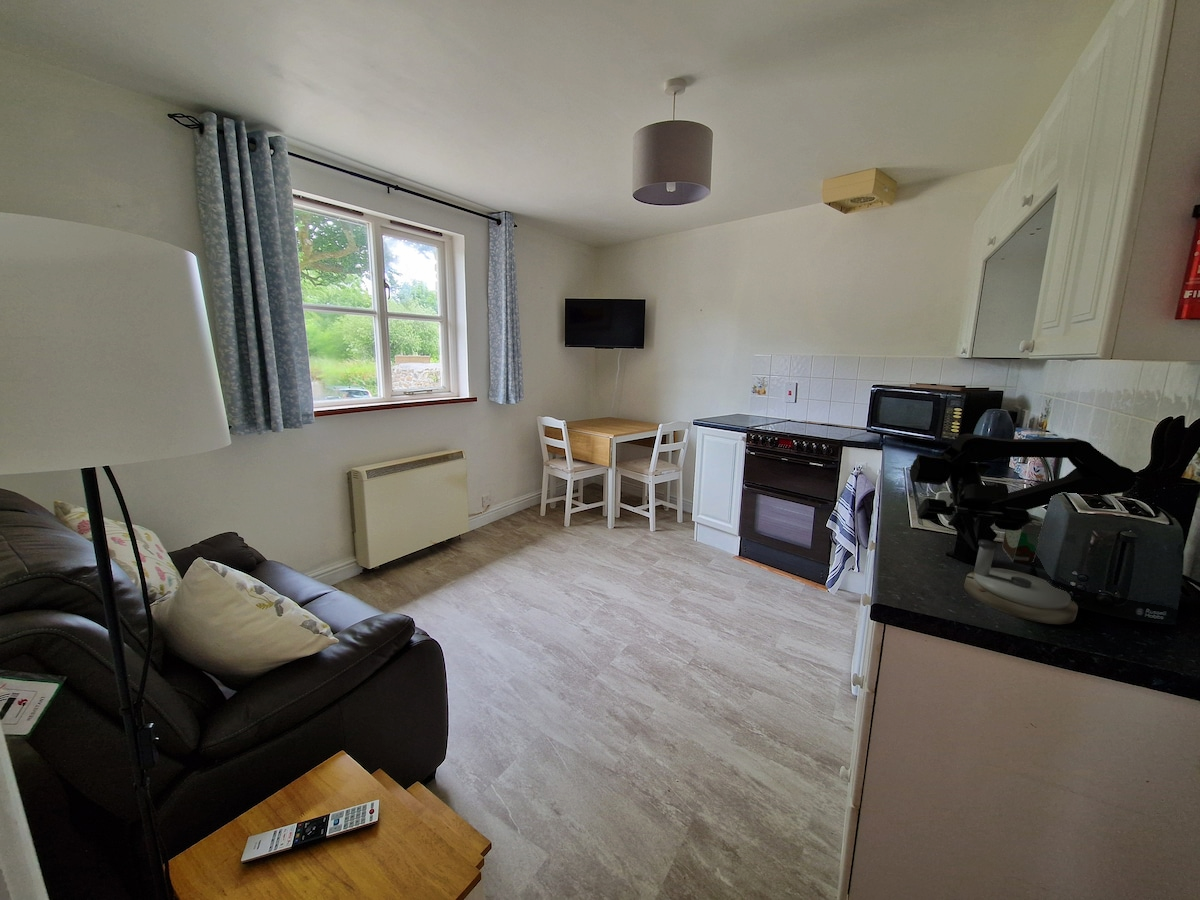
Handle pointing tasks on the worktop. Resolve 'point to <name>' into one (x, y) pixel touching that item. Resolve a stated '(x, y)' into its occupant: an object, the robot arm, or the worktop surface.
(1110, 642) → the worktop surface
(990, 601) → the dial base
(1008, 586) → the dial
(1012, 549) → the food container
